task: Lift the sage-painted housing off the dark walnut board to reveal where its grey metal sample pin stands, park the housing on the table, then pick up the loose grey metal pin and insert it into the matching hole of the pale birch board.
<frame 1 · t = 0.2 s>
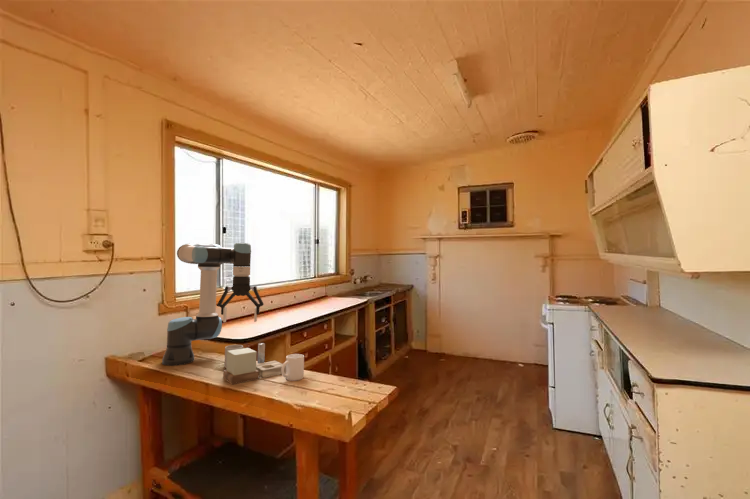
hand: (240, 321, 159), 27 cm above the table, fingers open, 13 cm apart
housing: (241, 370, 160), point 3 cm above the table, touching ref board
pin: (260, 367, 178), on the table
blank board: (269, 372, 169), on the table
mug 2: (234, 365, 181), on the table
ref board: (240, 378, 160), on the table
mug: (291, 379, 160), on the table
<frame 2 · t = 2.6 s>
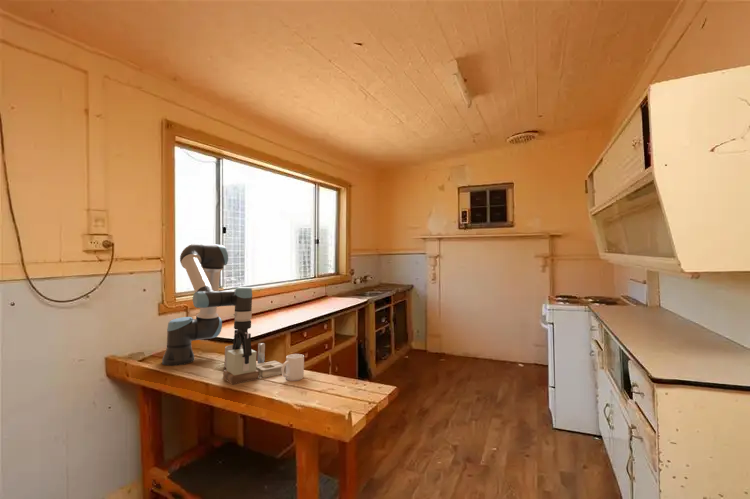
hand: (241, 367, 160), 5 cm above the table, fingers closed on housing, 10 cm apart
housing: (241, 370, 160), point 4 cm above the table, touching gripper, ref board
everything else where it was.
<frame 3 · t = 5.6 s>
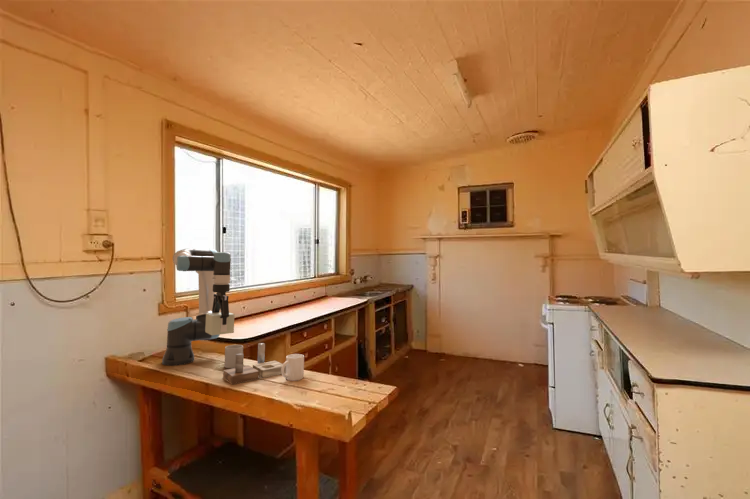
hand: (219, 329, 166), 21 cm above the table, fingers closed on housing, 10 cm apart
housing: (219, 332, 166), point 20 cm above the table, touching gripper
everything else where it was.
when the fingers open (3 cm above the table, at t = 8.9 s): housing drops 2 cm, on the table.
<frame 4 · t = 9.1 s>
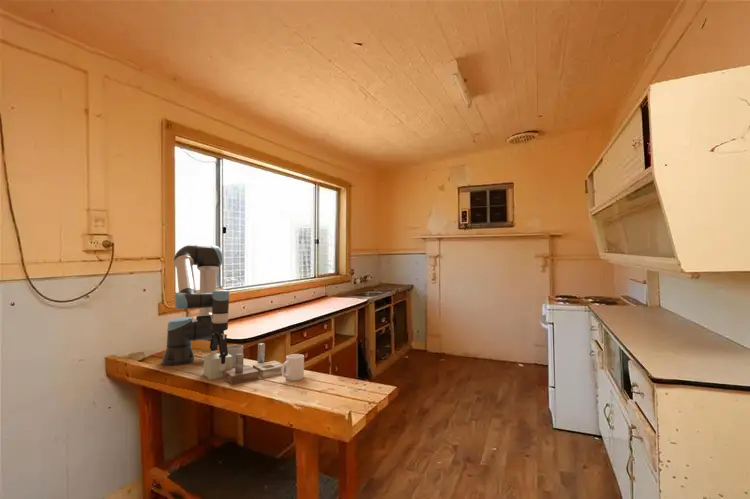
hand: (217, 367, 165), 3 cm above the table, fingers open, 12 cm apart
housing: (217, 374, 165), on the table
everything else where it was.
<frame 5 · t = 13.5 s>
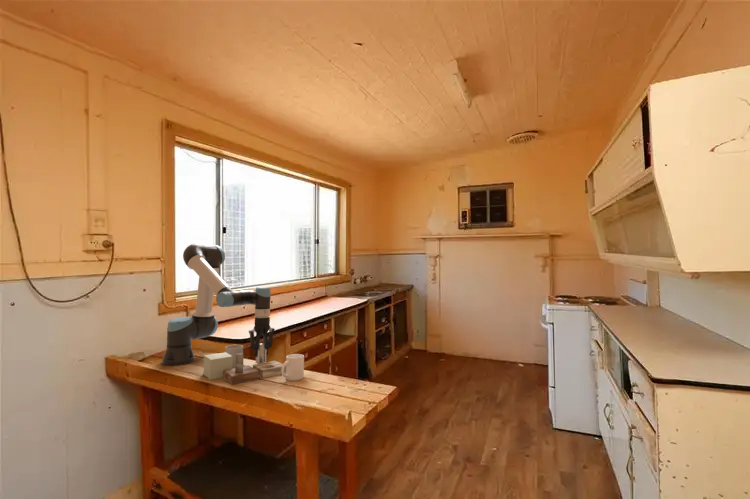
hand: (260, 362, 178), 3 cm above the table, fingers closed on pin, 3 cm apart
pin: (260, 367, 178), on the table, touching gripper
everything else where it was.
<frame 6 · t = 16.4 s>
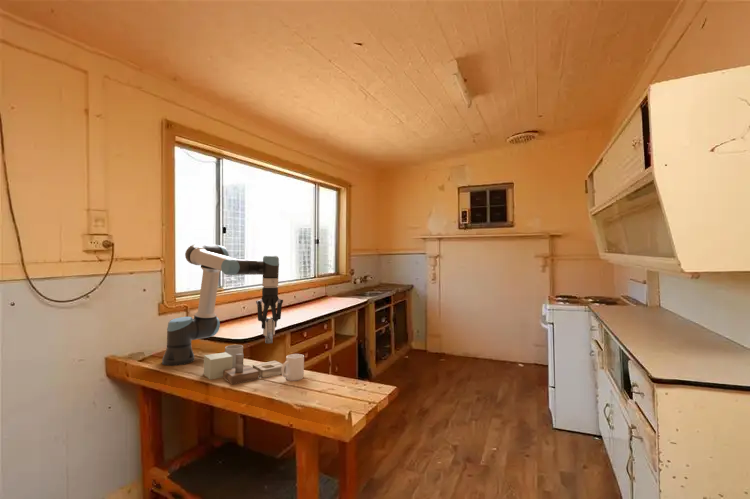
hand: (268, 334, 168), 19 cm above the table, fingers closed on pin, 3 cm apart
pin: (268, 342, 168), point 15 cm above the table, touching gripper
everything else where it was.
when the fingers open (5 cm above the table, at t = 19.7 s): pin stays where it is, resting in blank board.
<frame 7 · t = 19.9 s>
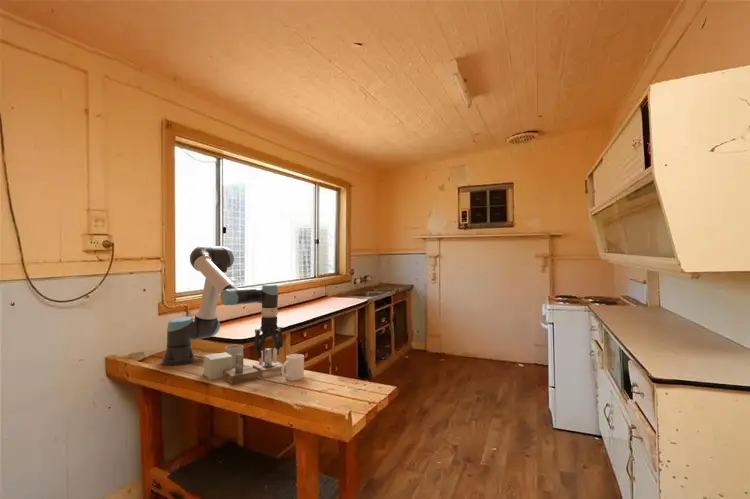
hand: (268, 363, 167), 5 cm above the table, fingers open, 7 cm apart
pin: (267, 373, 167), resting in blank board
everything else where it was.
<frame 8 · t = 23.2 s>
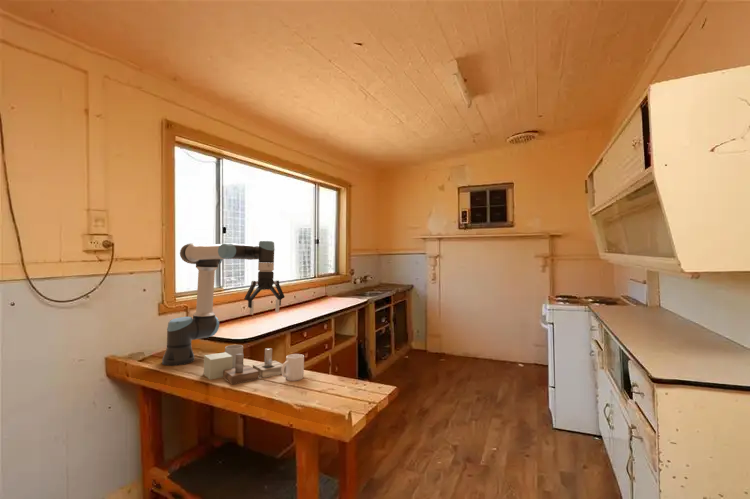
hand: (264, 313, 173), 29 cm above the table, fingers open, 13 cm apart
nothing on the table moved.
at the end: pin 0.1 cm from the target spot on the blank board, point 0.0 cm above the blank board's base; pin tilted 0°; housing moved 14.1 cm from its start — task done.
